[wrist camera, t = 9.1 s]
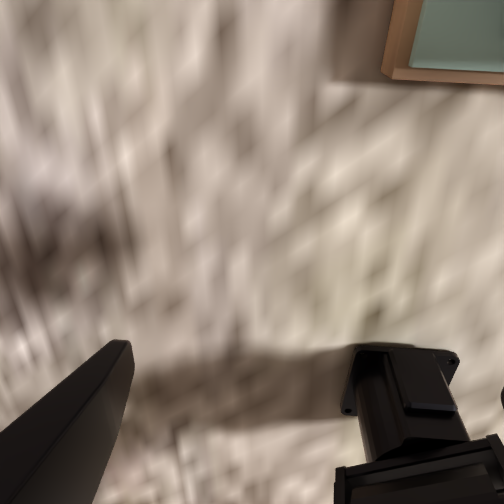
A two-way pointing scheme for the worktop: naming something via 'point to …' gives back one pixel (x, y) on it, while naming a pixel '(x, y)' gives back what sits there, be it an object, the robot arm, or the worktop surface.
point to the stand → (446, 41)
